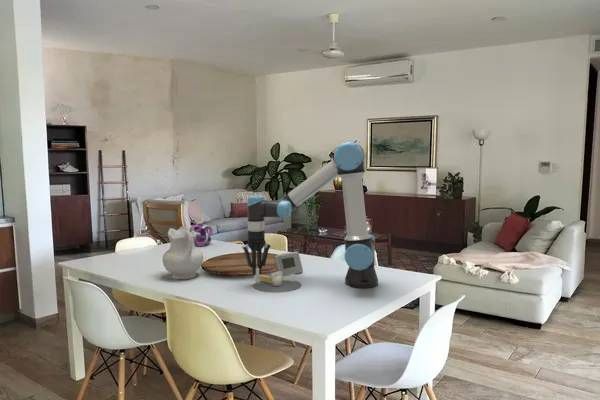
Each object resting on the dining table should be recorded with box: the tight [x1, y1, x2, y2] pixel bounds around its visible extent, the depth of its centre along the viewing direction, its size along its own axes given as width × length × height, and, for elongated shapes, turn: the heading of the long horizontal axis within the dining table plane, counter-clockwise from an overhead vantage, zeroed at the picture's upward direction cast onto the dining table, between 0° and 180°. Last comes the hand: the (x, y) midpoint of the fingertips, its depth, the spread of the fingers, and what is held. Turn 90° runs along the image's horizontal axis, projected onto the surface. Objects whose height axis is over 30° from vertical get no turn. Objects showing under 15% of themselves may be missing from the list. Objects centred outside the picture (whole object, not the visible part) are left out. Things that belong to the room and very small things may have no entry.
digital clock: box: [273, 251, 304, 278], centre depth 230 cm, size 16×9×11 cm, turn 123°
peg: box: [259, 271, 283, 286], centre depth 210 cm, size 13×5×6 cm, turn 49°
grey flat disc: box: [252, 278, 302, 294], centre depth 208 cm, size 22×22×1 cm
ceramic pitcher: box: [162, 225, 204, 280], centre depth 225 cm, size 22×20×25 cm
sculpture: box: [189, 223, 214, 248], centre depth 307 cm, size 16×17×20 cm
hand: (256, 281), depth 209 cm, fingers closed
